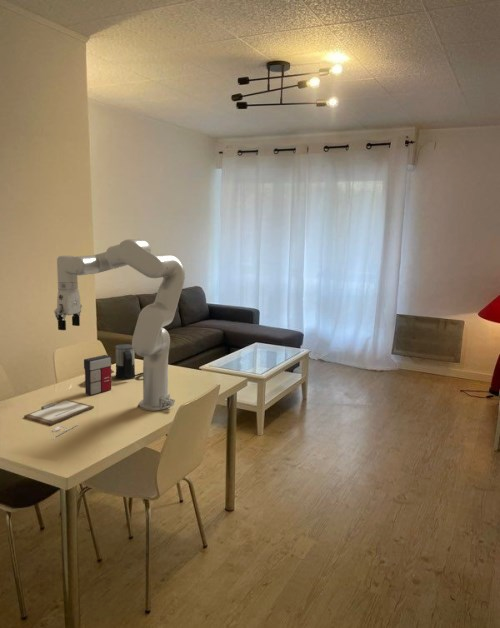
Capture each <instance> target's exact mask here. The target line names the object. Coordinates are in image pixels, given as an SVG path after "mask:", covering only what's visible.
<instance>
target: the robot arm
mask: <svg viewBox="0 0 500 628" xmlns="http://www.w3.org/2000/svg"><path fill="white" fill-rule="evenodd" d="M151 248H152V247H151V245H150V244H149V242H147V241H146V240H144V239H139V238H138V239H135V238H130V239H124V240H123V241H121V242H120V243H119V244H115V245H112V246H109V247H107V249H106V251H105V252H101V253H97V254H94V255H78V256H74V255H59V256H58V257H56V269H57V270H56V272H57V299H56V300H57V301H56V308H55V309H54V315H55V318H56V321H57V329H58V331H67V320H65V319H66V317H67V316H71V322H72V323H71V324H72V326H73V327H74V326H75V327H79V326H81V324H80V323H81V321H80V320H81V319H80V316H81V313H82V307H83V305H82V304H81V295H80V292H79V291H80V290H79V289H78V287H79V286H78V283H79V282H78V276H86V275H94V274H99V273H102V272H108V271H110V270H113V269H114V270H115V269H118V268H122V267H125V266H129V267H130V268H132V269H134V270H135V271H136V272H139V273H140V274H142V275H143V276H145V277H147V278H150V279H159V278H160V279H161V278H162V282H161V283H160V285H159V286H158V289H157V292H156V296H155V299H154V301H153V303H150V304H148V305H147V304H146V306H144V307H143V308H142V309H141V310H140V313H139V314H138V318H137V321H136V325H135V328H134V331H133V335H132V340H131V345H132V347H133V350H134V352H135V354H136V355H137V356H139V357H143V365H142V366H143V367H142V373H143V375H142V377H143V378H142V384H143V385H142V389H143V390H142V398H143V399H142V400H140V401H139V403H138V404H139V408H140V409H142V410H145V411H163V410H166V409H169V408H170V407H173V406H174V405H175V402H176V399H174V398H171V394H169V386H168V384H169V382H168V381H169V372H168V371H169V369H168V368H169V353H170V348H171V347H170V346H171V336H170V334H169V332H168V330H167V329H165V328H164V327H166V326H168V325H170V324H171V323H172V322H173V320H174V318H175V315H176V312H177V311H176V310H177V307H178V304H179V302H180V301H179V300H180V297H181V293H182V291H183V286H184V283H185V279H186V276H185V275H186V273H185V269H184V266H183V264H182V263H181V261H180V260H179V259H178V258H177V257H176V256H174V255H172V254H168V253H161V254H154V253H152V249H151Z"/></svg>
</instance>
